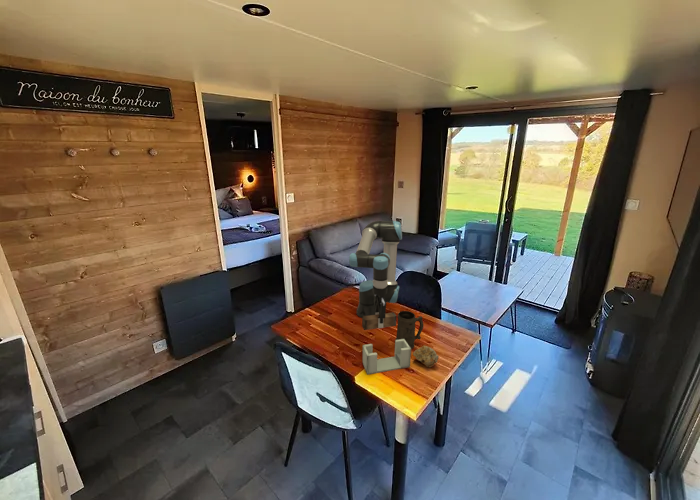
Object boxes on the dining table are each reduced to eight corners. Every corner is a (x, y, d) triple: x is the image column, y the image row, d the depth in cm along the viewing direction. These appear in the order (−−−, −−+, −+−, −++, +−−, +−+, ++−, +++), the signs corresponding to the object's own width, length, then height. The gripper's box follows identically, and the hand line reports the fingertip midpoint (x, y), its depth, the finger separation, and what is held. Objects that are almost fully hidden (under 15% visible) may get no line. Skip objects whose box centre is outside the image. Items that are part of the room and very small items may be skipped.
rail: (364, 330, 158) (364, 320, 157) (362, 326, 162) (362, 316, 160) (395, 325, 162) (396, 316, 161) (393, 321, 166) (393, 312, 164)
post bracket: (362, 363, 158) (362, 345, 154) (403, 356, 163) (404, 338, 159) (367, 374, 149) (367, 355, 146) (410, 367, 154) (411, 348, 151)
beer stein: (399, 352, 166) (402, 320, 160) (391, 341, 176) (394, 310, 170) (423, 349, 170) (428, 317, 164) (414, 338, 180) (419, 308, 174)
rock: (433, 357, 162) (434, 341, 159) (439, 370, 152) (440, 353, 149) (411, 357, 161) (412, 341, 158) (415, 370, 151) (416, 354, 148)
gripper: (368, 280, 162) (368, 318, 169) (378, 293, 146) (377, 335, 153) (381, 278, 164) (380, 316, 171) (392, 292, 148) (391, 333, 155)
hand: (379, 325), depth 162 cm, fingers closed on rail, 4 cm apart
